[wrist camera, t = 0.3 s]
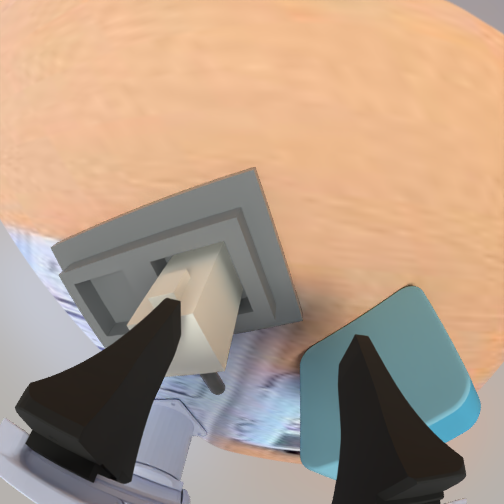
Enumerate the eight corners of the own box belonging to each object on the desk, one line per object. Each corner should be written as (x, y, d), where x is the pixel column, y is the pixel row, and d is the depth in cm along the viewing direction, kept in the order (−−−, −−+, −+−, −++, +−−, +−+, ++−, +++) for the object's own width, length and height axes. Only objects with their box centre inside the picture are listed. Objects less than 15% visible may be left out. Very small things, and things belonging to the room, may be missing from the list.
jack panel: (117, 344, 28) (105, 364, 26) (56, 242, 24) (37, 257, 21) (302, 312, 24) (303, 337, 21) (255, 166, 19) (250, 176, 17)
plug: (212, 333, 25) (188, 411, 18) (169, 248, 21) (120, 316, 14) (257, 324, 24) (246, 407, 17) (220, 233, 21) (187, 303, 13)
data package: (326, 376, 27) (333, 488, 17) (298, 352, 26) (298, 475, 15) (433, 310, 23) (487, 419, 12) (414, 277, 22) (477, 394, 11)
